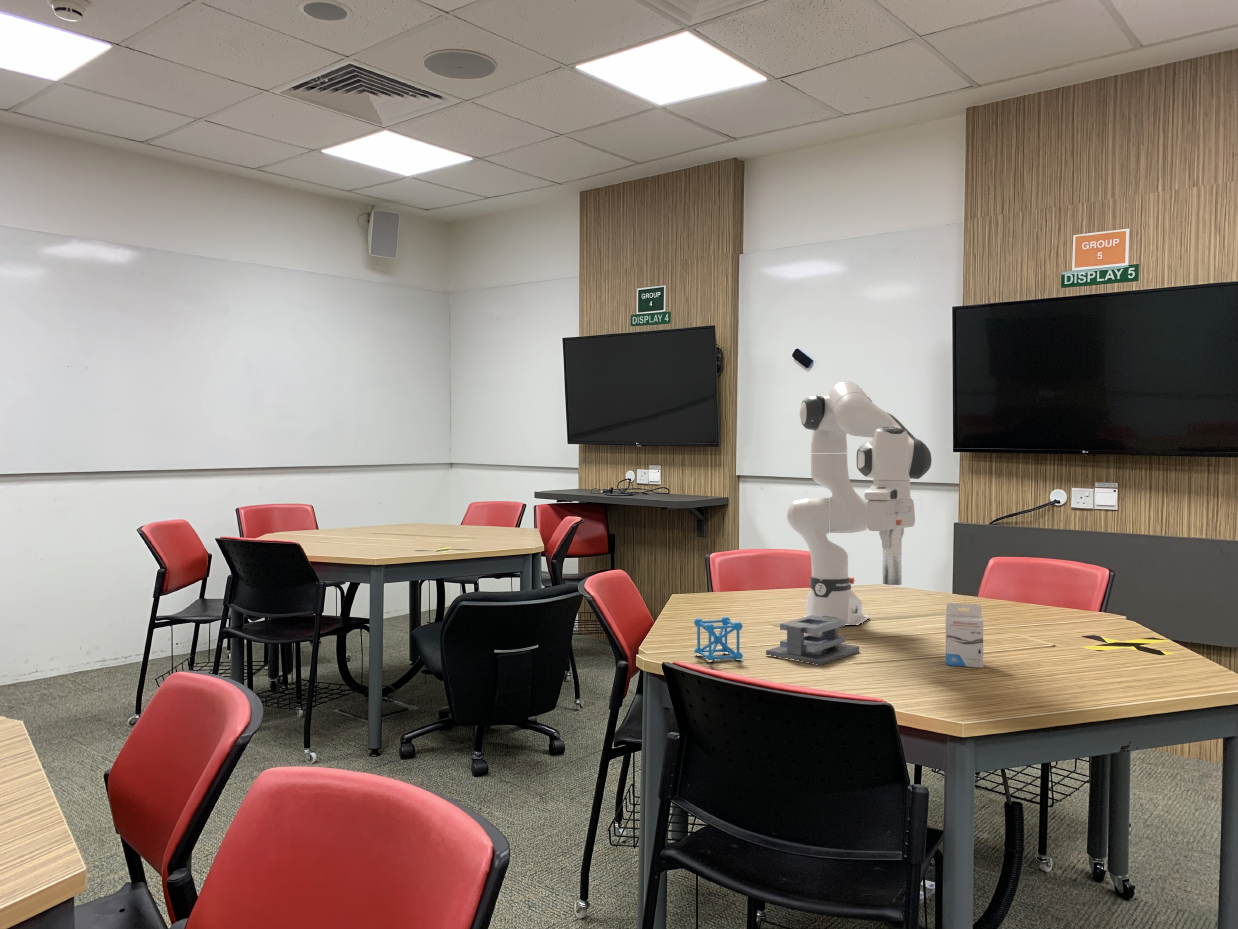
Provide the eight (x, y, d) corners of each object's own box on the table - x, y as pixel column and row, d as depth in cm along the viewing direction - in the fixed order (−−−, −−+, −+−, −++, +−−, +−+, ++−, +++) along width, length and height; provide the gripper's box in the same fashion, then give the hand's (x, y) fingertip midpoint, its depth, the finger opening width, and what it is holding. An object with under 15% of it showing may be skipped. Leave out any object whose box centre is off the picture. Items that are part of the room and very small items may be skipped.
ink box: (946, 665, 211) (945, 605, 211) (945, 661, 216) (945, 602, 216) (983, 668, 208) (983, 607, 208) (982, 663, 213) (982, 604, 213)
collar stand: (805, 643, 237) (805, 613, 237) (859, 652, 226) (859, 620, 226) (766, 656, 223) (765, 623, 222) (821, 665, 212) (821, 631, 212)
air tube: (887, 581, 217) (887, 510, 217) (905, 583, 214) (904, 511, 214) (879, 584, 214) (878, 511, 214) (897, 585, 211) (896, 512, 210)
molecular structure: (744, 661, 217) (744, 622, 217) (707, 664, 214) (707, 624, 214) (728, 653, 227) (728, 615, 227) (692, 655, 224) (692, 617, 224)
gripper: (897, 490, 224) (897, 543, 224) (861, 492, 209) (861, 549, 209) (921, 490, 219) (921, 544, 219) (885, 493, 204) (885, 551, 204)
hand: (891, 547), depth 214 cm, fingers closed on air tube, 4 cm apart
